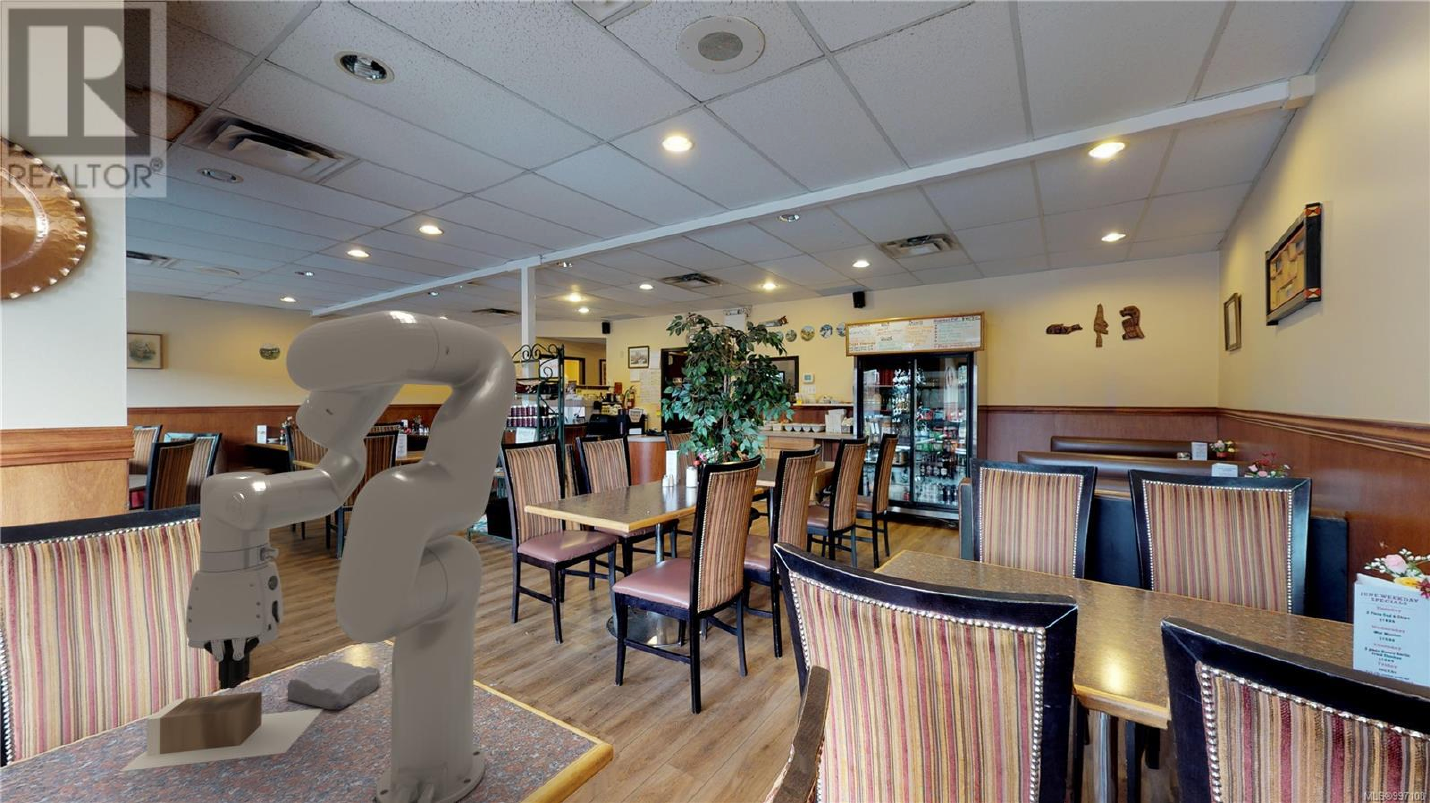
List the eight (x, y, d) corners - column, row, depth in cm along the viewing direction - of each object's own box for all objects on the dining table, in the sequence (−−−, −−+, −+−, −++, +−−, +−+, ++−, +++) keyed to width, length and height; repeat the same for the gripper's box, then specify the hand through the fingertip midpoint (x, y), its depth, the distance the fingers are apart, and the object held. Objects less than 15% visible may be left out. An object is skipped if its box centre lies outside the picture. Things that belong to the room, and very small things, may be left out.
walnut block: (240, 710, 76) (146, 719, 74) (239, 745, 76) (146, 755, 74) (261, 691, 81) (174, 699, 79) (261, 724, 81) (174, 733, 79)
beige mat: (284, 755, 75) (284, 752, 75) (119, 774, 71) (119, 771, 71) (324, 710, 86) (324, 708, 86) (182, 724, 81) (182, 722, 81)
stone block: (335, 685, 96) (277, 700, 87) (342, 656, 97) (286, 668, 88) (387, 698, 93) (332, 716, 83) (393, 668, 94) (340, 682, 84)
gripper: (307, 548, 83) (306, 666, 83) (193, 553, 80) (192, 676, 80) (279, 563, 76) (278, 692, 76) (153, 568, 73) (151, 703, 73)
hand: (234, 683), depth 78 cm, fingers closed
